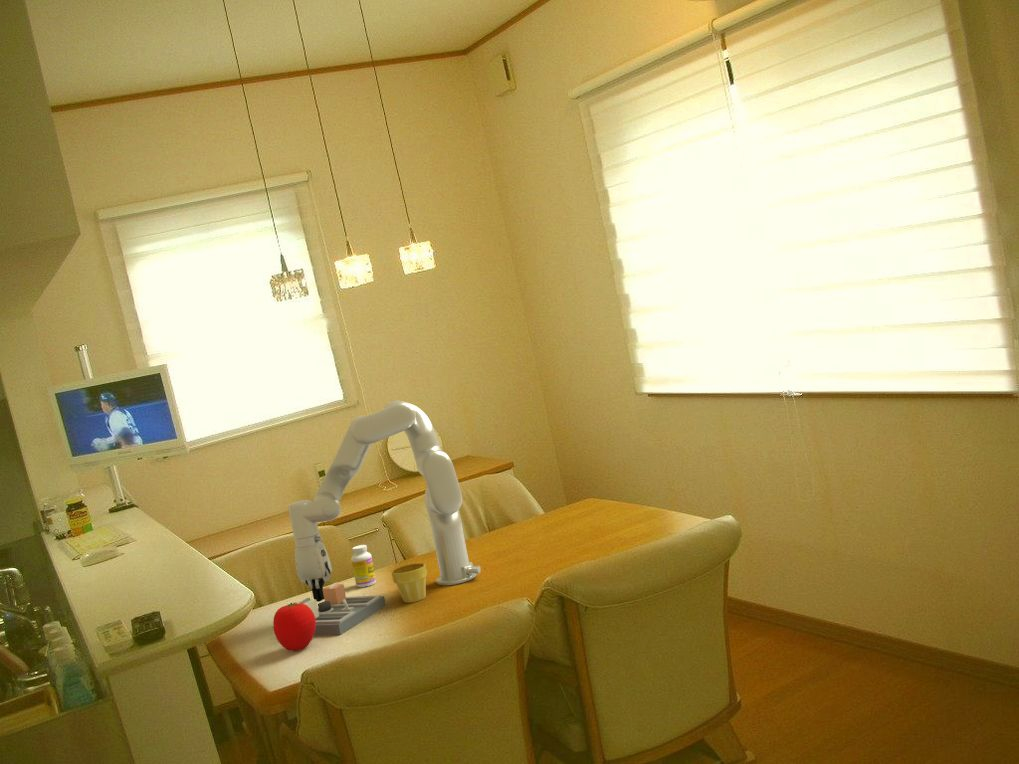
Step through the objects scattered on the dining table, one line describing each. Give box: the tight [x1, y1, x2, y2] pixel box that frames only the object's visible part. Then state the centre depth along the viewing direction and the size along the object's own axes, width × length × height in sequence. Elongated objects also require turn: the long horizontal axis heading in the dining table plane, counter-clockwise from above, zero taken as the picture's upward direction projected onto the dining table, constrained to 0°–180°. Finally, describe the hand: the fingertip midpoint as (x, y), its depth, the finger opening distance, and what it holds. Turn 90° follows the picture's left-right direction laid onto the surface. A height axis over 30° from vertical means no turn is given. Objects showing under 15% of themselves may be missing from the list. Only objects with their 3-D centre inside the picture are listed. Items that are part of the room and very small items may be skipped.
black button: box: [317, 600, 331, 612], centre depth 298 cm, size 4×4×2 cm
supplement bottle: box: [350, 544, 377, 588], centre depth 333 cm, size 7×7×13 cm
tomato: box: [272, 602, 316, 652], centre depth 275 cm, size 11×11×13 cm
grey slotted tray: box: [313, 594, 387, 637], centre depth 296 cm, size 18×24×7 cm
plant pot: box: [391, 562, 428, 603], centre depth 304 cm, size 10×10×10 cm
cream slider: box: [298, 597, 319, 618], centre depth 292 cm, size 4×4×6 cm
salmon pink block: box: [323, 582, 347, 605], centre depth 304 cm, size 4×4×6 cm
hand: (319, 600), depth 307 cm, fingers closed
